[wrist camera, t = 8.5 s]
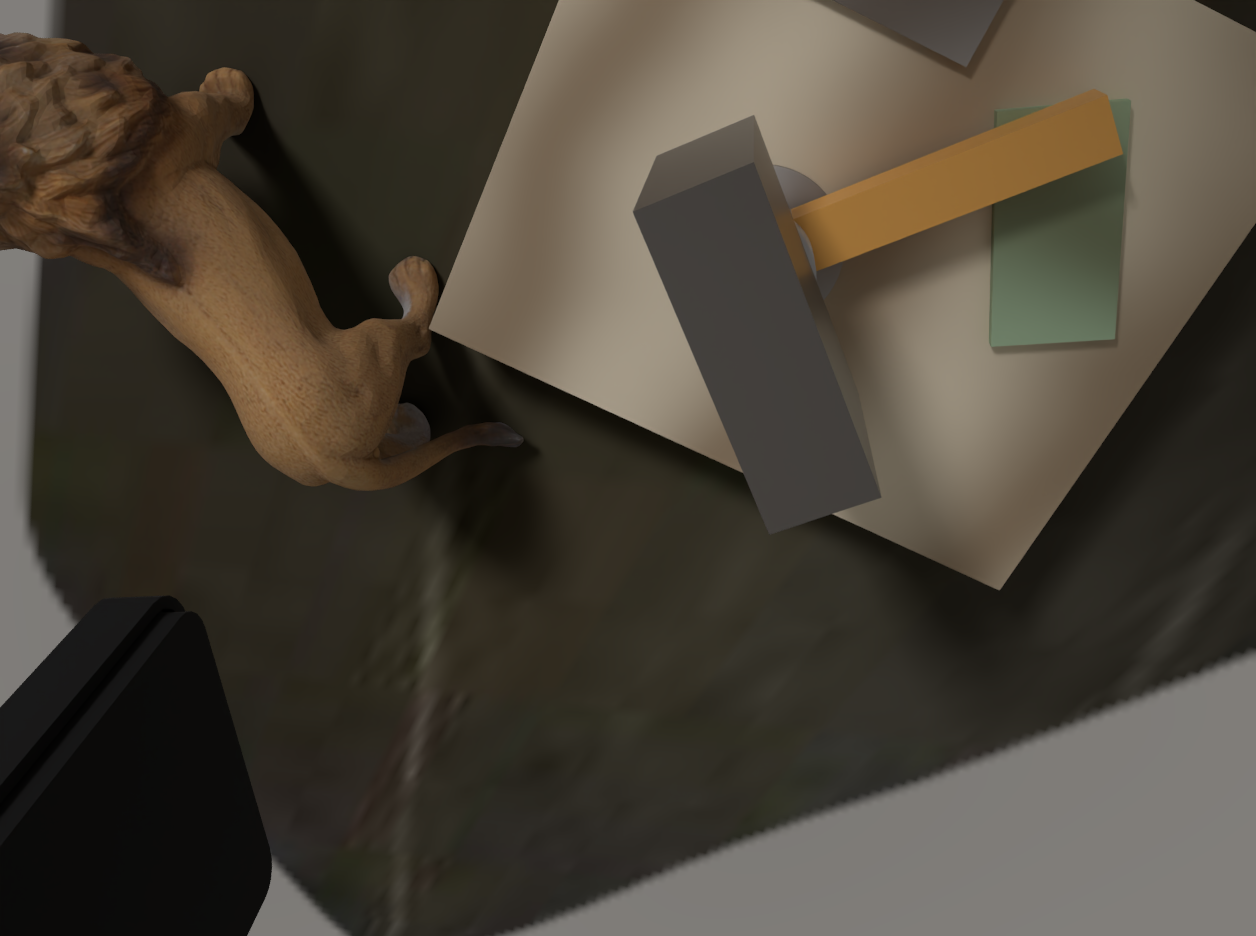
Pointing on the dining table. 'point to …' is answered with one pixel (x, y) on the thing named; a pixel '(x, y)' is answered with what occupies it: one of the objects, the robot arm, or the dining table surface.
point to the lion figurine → (212, 260)
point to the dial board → (902, 270)
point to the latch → (788, 291)
